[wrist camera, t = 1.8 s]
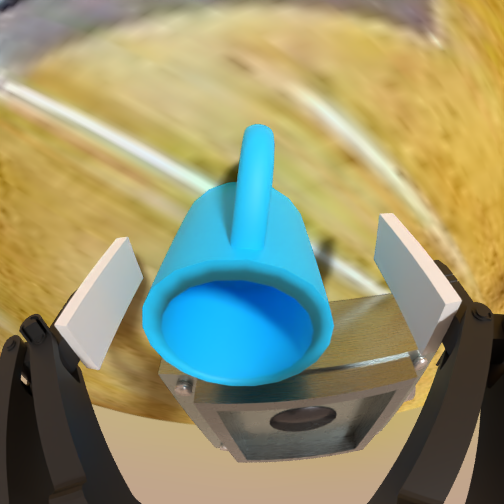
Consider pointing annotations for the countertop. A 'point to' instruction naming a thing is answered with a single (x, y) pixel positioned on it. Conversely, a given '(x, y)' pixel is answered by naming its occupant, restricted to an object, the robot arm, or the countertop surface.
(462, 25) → the countertop surface
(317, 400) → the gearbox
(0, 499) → the robot arm
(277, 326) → the mug
